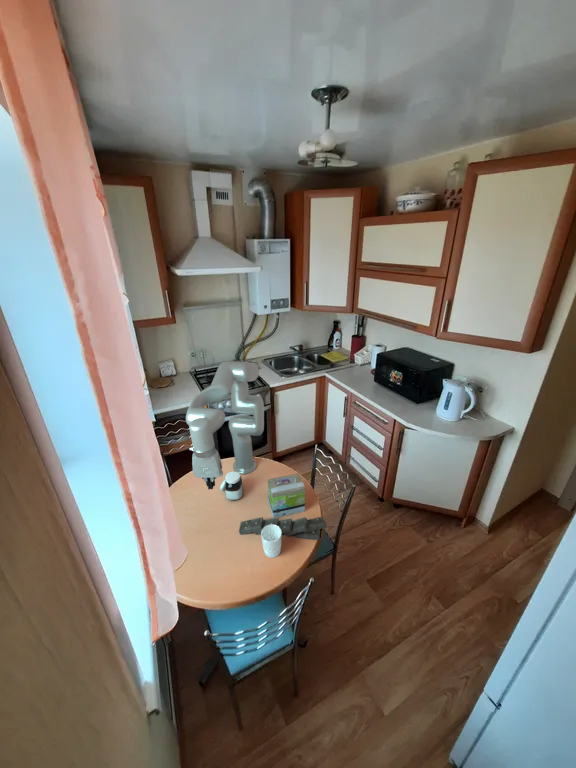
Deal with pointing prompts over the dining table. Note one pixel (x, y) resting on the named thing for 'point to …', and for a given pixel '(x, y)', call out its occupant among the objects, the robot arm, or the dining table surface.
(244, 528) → the tile
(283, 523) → the tile
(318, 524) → the tile
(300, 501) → the tea box
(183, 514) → the dining table surface
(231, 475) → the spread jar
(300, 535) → the tile
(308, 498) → the dining table surface
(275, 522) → the tile
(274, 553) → the white cup
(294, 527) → the tile
